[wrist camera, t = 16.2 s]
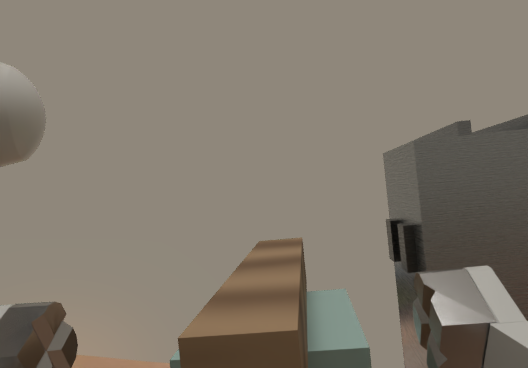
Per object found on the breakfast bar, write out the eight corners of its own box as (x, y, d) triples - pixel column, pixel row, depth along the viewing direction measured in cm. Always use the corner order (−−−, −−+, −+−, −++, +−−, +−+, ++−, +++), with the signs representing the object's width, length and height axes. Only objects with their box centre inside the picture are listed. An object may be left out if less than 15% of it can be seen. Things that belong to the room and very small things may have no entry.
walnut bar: (309, 453, 11) (297, 330, 11) (189, 458, 11) (178, 338, 11) (306, 280, 31) (302, 237, 31) (263, 283, 31) (259, 241, 31)
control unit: (634, 505, 30) (590, 107, 30) (439, 511, 31) (400, 127, 31) (539, 414, 42) (509, 130, 42) (401, 420, 43) (373, 144, 43)
